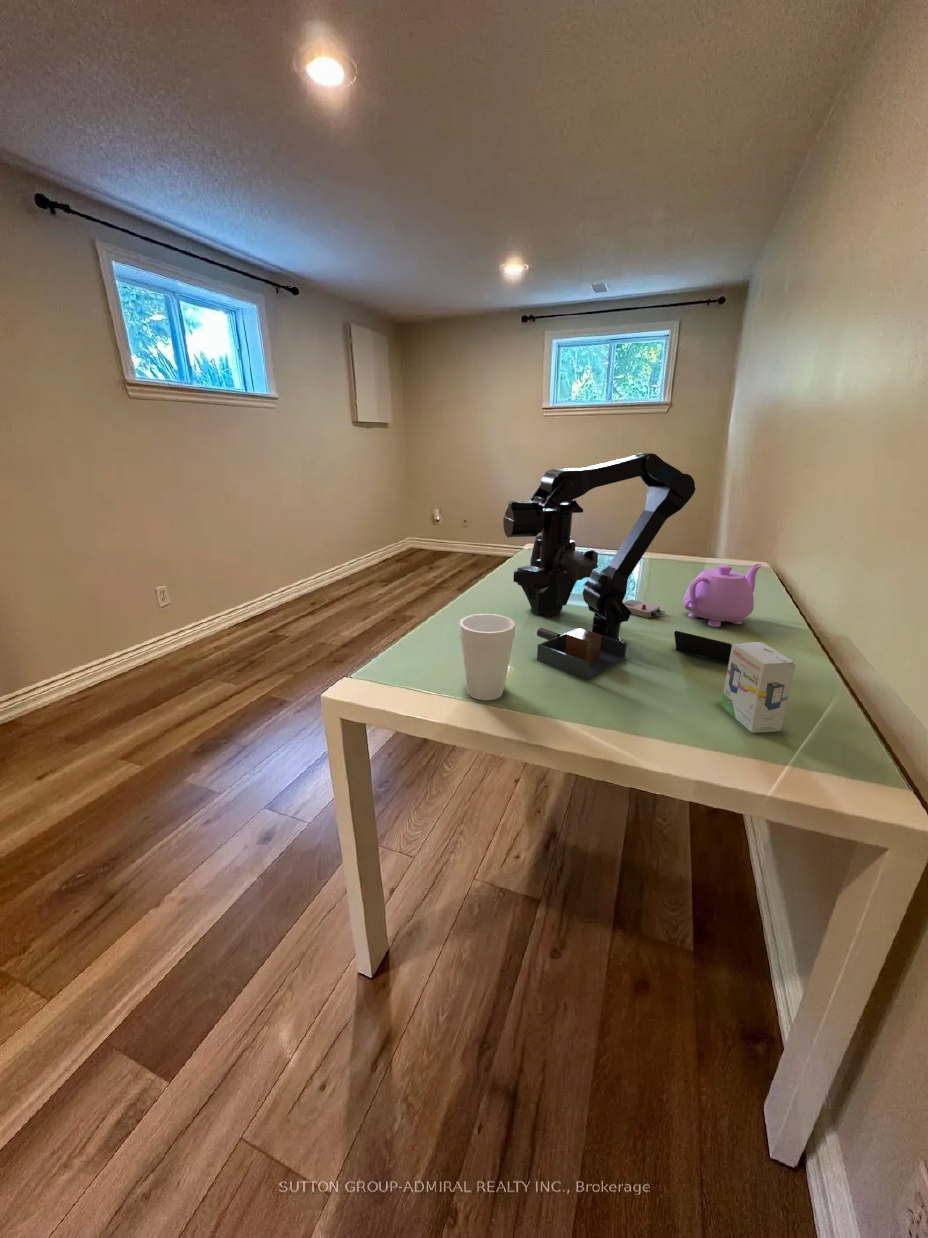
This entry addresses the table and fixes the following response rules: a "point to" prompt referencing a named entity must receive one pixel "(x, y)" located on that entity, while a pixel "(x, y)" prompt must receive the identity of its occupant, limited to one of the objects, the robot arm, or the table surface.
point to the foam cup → (486, 653)
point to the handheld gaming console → (703, 646)
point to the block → (583, 645)
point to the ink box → (757, 686)
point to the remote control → (643, 609)
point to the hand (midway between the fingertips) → (550, 609)
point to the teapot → (721, 595)
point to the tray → (556, 657)
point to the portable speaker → (551, 594)
